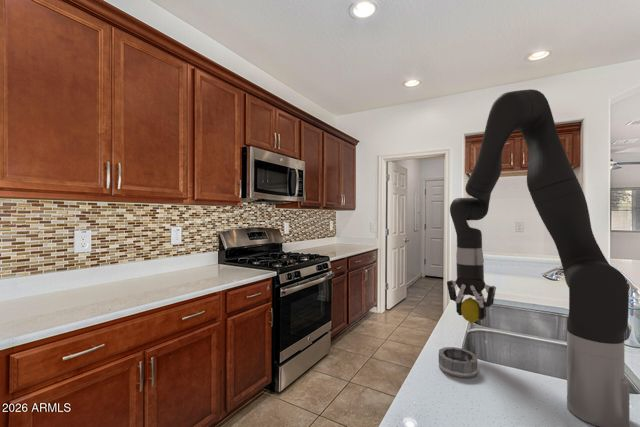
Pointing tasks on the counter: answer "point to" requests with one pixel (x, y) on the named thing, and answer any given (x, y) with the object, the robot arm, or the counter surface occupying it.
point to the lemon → (470, 310)
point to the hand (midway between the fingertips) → (471, 316)
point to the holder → (458, 362)
